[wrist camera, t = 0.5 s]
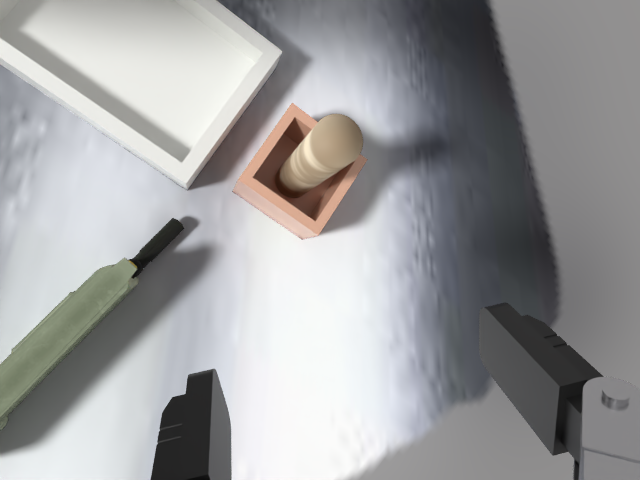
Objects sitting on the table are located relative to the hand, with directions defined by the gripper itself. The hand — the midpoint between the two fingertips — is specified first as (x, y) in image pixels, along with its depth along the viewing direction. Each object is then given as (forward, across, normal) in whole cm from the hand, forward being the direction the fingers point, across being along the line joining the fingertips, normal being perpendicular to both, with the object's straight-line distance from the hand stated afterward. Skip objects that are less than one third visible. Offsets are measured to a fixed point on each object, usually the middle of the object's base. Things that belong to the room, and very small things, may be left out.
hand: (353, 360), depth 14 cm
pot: (+30, -1, +4) cm, 31 cm away
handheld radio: (+24, +19, +11) cm, 33 cm away
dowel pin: (+30, -1, +3) cm, 30 cm away
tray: (+34, +10, -9) cm, 37 cm away
